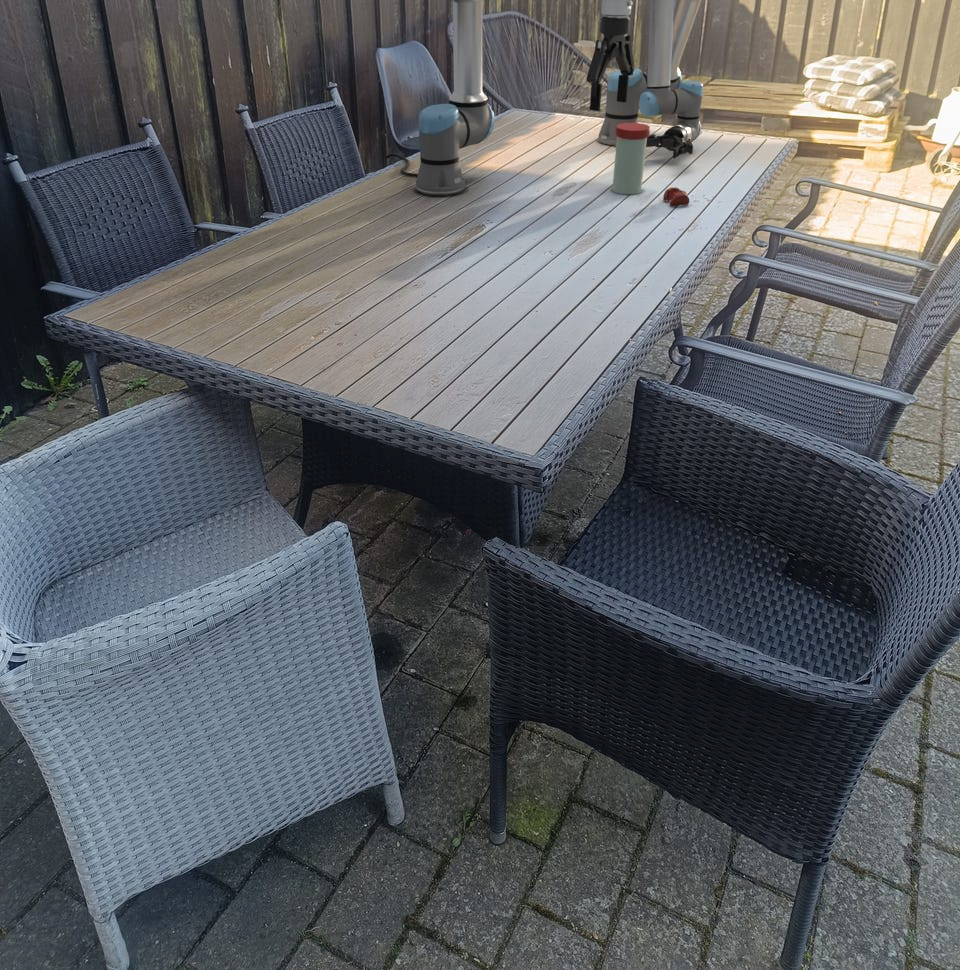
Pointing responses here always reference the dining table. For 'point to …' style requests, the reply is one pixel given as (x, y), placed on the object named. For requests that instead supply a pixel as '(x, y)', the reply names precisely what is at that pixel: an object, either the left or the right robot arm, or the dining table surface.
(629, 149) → the jar
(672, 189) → the dental model
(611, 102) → the right robot arm
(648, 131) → the lid
